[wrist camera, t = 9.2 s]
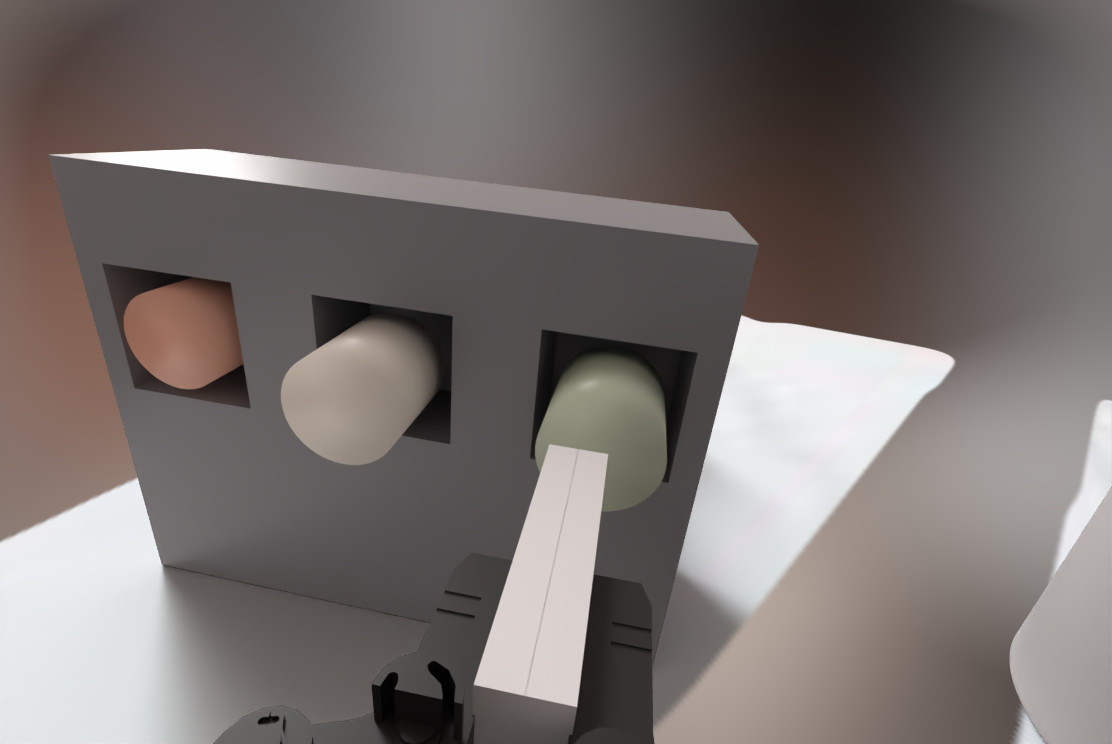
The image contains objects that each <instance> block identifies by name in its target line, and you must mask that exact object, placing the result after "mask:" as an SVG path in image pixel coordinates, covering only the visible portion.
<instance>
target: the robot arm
mask: <svg viewBox="0 0 1112 744" xmlns="http://www.w3.org/2000/svg"><path fill="white" fill-rule="evenodd" d="M607 460H608V454H605V453H599V452H593V451H587V450H581V449H575V448H569V447H563V446H557V445H551V444H549V447H548V450H547V453H546V457H545V460H544V463H543V466H542V469H541V472H540V476H539V479H538V482H537V485H536V488H535V491H534V495H533V498H532V501H531V504H530V507H529V510H528V514H527V517H526V520H525V523H524V526H523V529H522V533H521V536H520V539H519V542H518V545H517V549H516V552H515V555H514V558H513V560H507V559H502V558H497V557H492V556H486V555H481V554H476V553H471V554H470V555H469V556H468V557H467V558H466V559H464V560H463V561H462V562H461V563H460V564H459V565H458V566H457V567H456V568H455V569H454V570H453V573H452V575H451V577H450V579H449V582H448V584H447V586H446V589H445V592H444V595H442V598H441V600H440V602H439V604H438V607H437V610H436V613H434V616H433V618H432V620H431V622H430V625H429V627H428V629H427V631H426V634H425V636H424V638H423V640H422V643H421V645H420V647H419V649H418V652H415V653H412V654H409V655H405V656H402V657H399V658H397V659H396V660H395V661H393V662H392V663H390V664H389V665H388V666H386V667H385V668H383V670H382V671H381V672H380V674H379V675H378V676H377V678H376V679H375V680H374V682H373V683H372V694H373V708H374V712H372V713H370V714H368V715H366V716H363V717H360V718H356V719H351V720H346V721H338V722H331V723H323V724H315V725H310V723H309V720H308V719H307V718H306V717H305V716H304V715H303V714H302V713H301V712H300V711H299V710H296V709H292V708H289V707H285V706H276V707H267V708H262V709H260V710H258V711H255V712H253V713H251V714H249V715H246V716H244V717H243V718H241V719H240V720H239V721H238V722H236V723H235V724H234V725H233V726H231V727H230V728H229V729H228V730H226V731H225V732H224V733H223V734H222V735H221V736H220V737H219V738H218V739H217V740H216V741H215V742H214V743H213V744H654V737H653V700H652V605H651V603H650V601H649V599H648V597H647V595H646V592H645V590H644V588H643V586H642V584H641V583H637V582H632V581H626V580H621V579H616V578H610V577H605V576H600V575H595V574H594V566H595V557H596V549H597V541H598V533H599V525H600V517H601V509H602V501H603V492H604V484H605V476H606V468H607Z"/></svg>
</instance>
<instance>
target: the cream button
mask: <svg viewBox="0 0 1112 744" xmlns="http://www.w3.org/2000/svg"><path fill="white" fill-rule="evenodd" d="M444 376H445V363H444V358H443V354H442V351H441V349H440V347H439V345H438V343H437V342H436V340H435V338H434V337H433V336H432V335H431V333H430V332H429V331H428V330H427V329H426V328H425V327H423V326H422V325H421V324H420V323H418V322H416V321H415V320H413V319H411V318H409V317H407V316H404V315H401V314H396V313H378V314H374V315H371V316H369V317H367V318H365V319H363V320H362V321H360V322H359V323H357V324H356V325H354V326H352V327H351V328H349V329H348V330H346V331H345V332H343V333H341V334H340V335H338V336H337V337H335V338H334V339H332V340H331V341H329V342H327V343H326V344H324V345H323V346H321V347H320V348H318V349H317V350H315V351H313V352H312V353H310V354H309V355H307V356H306V357H304V358H303V359H301V360H299V361H298V362H297V363H295V364H294V365H293V366H292V367H291V368H290V369H289V370H288V372H287V374H286V375H285V377H284V380H283V383H282V387H281V404H282V409H283V412H284V415H285V418H286V420H287V422H288V424H289V425H290V427H291V429H292V430H293V432H294V433H295V434H296V436H297V437H298V438H299V439H300V440H301V441H302V442H303V443H304V444H305V445H306V446H307V447H308V448H310V449H311V450H312V451H314V452H315V453H317V454H318V455H320V456H322V457H324V458H326V459H328V460H331V461H334V462H337V463H341V464H346V465H363V464H368V463H371V462H374V461H376V460H378V459H380V458H381V457H383V456H384V455H385V454H386V453H387V452H388V451H389V450H390V449H391V448H392V446H393V445H394V444H395V443H396V442H397V440H398V439H399V438H400V437H401V436H402V434H403V433H404V432H405V431H406V430H407V428H408V427H409V426H410V425H411V424H412V422H413V421H414V420H415V419H416V418H417V416H418V415H419V414H420V413H421V412H422V410H423V409H424V408H425V407H426V406H427V404H428V403H429V402H430V401H431V400H432V398H433V397H434V396H435V395H436V394H437V392H438V391H439V389H440V388H441V386H442V383H443V380H444Z"/></svg>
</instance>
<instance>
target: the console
mask: <svg viewBox="0 0 1112 744" xmlns="http://www.w3.org/2000/svg"><path fill="white" fill-rule="evenodd" d="M48 156H49V160H50V162H51V167H52V170H53V174H54V178H55V181H56V185H57V188H58V192H59V195H60V199H61V203H62V206H63V210H64V213H65V217H66V221H67V225H68V228H69V232H70V235H71V239H72V242H73V245H74V249H75V253H76V257H77V261H78V264H79V267H80V271H81V275H82V279H83V282H84V286H85V289H86V293H87V296H88V300H89V304H90V307H91V311H92V315H93V318H94V322H95V325H96V329H97V333H98V336H99V340H100V343H101V347H102V351H103V354H104V358H105V361H106V365H107V369H108V372H109V375H110V379H111V383H112V386H113V390H114V394H115V397H116V401H117V405H118V408H119V412H120V415H121V418H122V422H123V426H124V430H125V433H126V437H127V440H128V444H129V448H130V451H131V455H132V459H133V462H134V466H135V469H136V473H137V477H138V480H139V484H140V487H141V491H142V495H143V498H144V502H145V505H146V509H147V513H148V516H149V520H150V523H151V527H152V531H153V534H154V538H155V541H156V545H157V549H158V552H159V556H160V559H161V563H162V565H166V566H171V567H175V568H180V569H184V570H189V571H194V572H198V573H203V574H208V575H212V576H217V577H221V578H226V579H231V580H235V581H240V582H245V583H249V584H254V585H258V586H263V587H268V588H272V589H277V590H281V591H286V592H291V593H295V594H300V595H305V596H309V597H314V598H318V599H323V600H328V601H332V602H337V603H342V604H346V605H351V606H355V607H360V608H365V609H369V610H374V611H378V612H383V613H388V614H392V615H397V616H402V617H406V618H411V619H415V620H420V621H425V622H429V623H430V622H431V620H432V618H433V616H434V613H436V610H437V607H438V604H439V602H440V600H441V598H442V595H444V592H445V589H446V586H447V584H448V582H449V579H450V577H451V575H452V573H453V570H454V569H455V568H456V567H457V566H458V565H459V564H460V563H461V562H462V561H463V560H464V559H466V558H467V557H468V556H469V555H470V554H471V553H476V554H481V555H486V556H492V557H497V558H502V559H507V560H513V558H514V555H515V552H516V549H517V545H518V542H519V539H520V536H521V533H522V529H523V526H524V523H525V520H526V517H527V514H528V510H529V507H530V504H531V501H532V498H533V495H534V491H535V488H536V485H537V482H538V479H539V476H540V472H539V469H538V467H537V463H536V458H535V444H536V439H537V436H538V433H539V430H540V428H541V425H542V422H543V420H544V417H545V415H546V412H547V410H548V407H549V404H550V402H551V399H552V397H553V394H554V391H555V389H556V386H557V384H558V381H559V379H560V376H561V374H562V372H563V370H564V369H565V367H566V366H567V365H568V363H569V362H570V361H571V360H572V359H574V358H575V357H576V356H578V355H579V354H581V353H583V352H585V351H587V350H590V349H593V348H597V347H604V346H613V347H620V348H625V349H628V350H631V351H633V352H635V353H637V354H639V355H641V356H642V357H644V358H645V359H646V360H647V361H648V362H650V363H651V365H652V366H653V367H654V368H655V369H656V371H657V372H658V374H659V376H660V378H661V380H662V383H663V386H664V392H665V418H666V445H667V466H666V471H665V474H664V477H663V479H662V481H661V483H660V485H659V486H658V488H657V489H656V490H655V491H654V492H653V493H652V495H650V496H649V497H648V498H647V499H646V500H644V501H642V502H641V503H639V504H637V505H635V506H633V507H630V508H627V509H623V510H618V511H609V512H604V511H601V517H600V525H599V533H598V541H597V549H596V557H595V566H594V574H595V575H600V576H605V577H610V578H616V579H621V580H626V581H632V582H637V583H641V584H642V586H643V588H644V590H645V592H646V595H647V597H648V599H649V601H650V603H651V605H652V665H653V661H654V657H655V653H656V649H657V645H658V642H659V638H660V634H661V630H662V626H663V622H664V618H665V614H666V610H667V606H668V602H669V598H670V594H671V590H672V586H673V582H674V578H675V574H676V570H677V566H678V563H679V559H680V555H681V551H682V547H683V543H684V539H685V535H686V531H687V527H688V523H689V519H690V515H691V511H692V507H693V503H694V499H695V495H696V491H697V487H698V484H699V480H700V476H701V472H702V468H703V464H704V460H705V456H706V452H707V448H708V444H709V440H710V436H711V432H712V428H713V424H714V420H715V416H716V412H717V408H718V405H719V401H720V397H721V393H722V389H723V385H724V381H725V377H726V373H727V369H728V365H729V361H730V357H731V353H732V349H733V345H734V341H735V337H736V333H737V329H738V326H739V322H740V318H741V314H742V310H743V305H744V302H745V298H746V294H747V290H748V286H749V282H750V278H751V274H752V270H753V266H754V262H755V258H756V254H757V251H758V247H759V245H758V244H757V242H756V241H755V240H754V239H753V238H752V237H751V236H750V235H749V234H748V233H747V232H746V231H745V229H744V228H743V227H742V226H741V225H740V224H739V223H738V222H737V221H736V220H735V219H734V218H733V216H731V214H730V213H729V212H723V211H715V210H706V209H698V208H690V207H681V206H673V205H665V204H656V203H649V202H640V201H632V200H624V199H616V198H606V197H599V196H591V195H582V194H574V193H565V192H558V191H549V190H541V189H533V188H524V187H516V186H508V185H500V184H492V183H483V182H474V181H467V180H457V179H449V178H441V177H434V176H425V175H416V174H409V173H400V172H392V171H384V170H375V169H367V168H359V167H351V166H342V165H334V164H326V163H318V162H310V161H301V160H293V159H285V158H277V157H268V156H260V155H252V154H244V153H235V152H227V151H219V150H210V149H194V150H166V151H140V152H114V153H113V152H112V153H85V154H58V155H48ZM192 277H197V278H204V279H210V280H217V281H223V282H230V283H231V289H232V295H233V301H234V307H235V314H236V320H237V326H238V332H239V339H240V345H241V351H242V357H243V365H241V366H239V367H237V368H236V369H234V370H232V371H230V372H228V373H227V374H225V375H223V376H221V377H220V378H218V379H216V380H214V381H212V382H211V383H209V384H207V385H205V386H204V387H201V388H197V389H182V388H177V387H174V386H171V385H169V384H167V383H165V382H163V381H161V380H159V379H158V378H156V377H155V376H154V375H152V374H151V373H150V372H149V371H148V370H146V368H145V367H144V366H143V365H142V364H141V363H140V362H139V361H138V359H137V358H136V356H135V355H134V354H133V352H132V350H131V348H130V346H129V344H128V342H127V339H126V336H125V331H124V314H125V310H126V308H127V306H128V304H129V303H130V301H131V300H132V299H133V298H135V297H136V296H138V295H139V294H142V293H145V292H148V291H151V290H154V289H157V288H161V287H164V286H167V285H170V284H173V283H176V282H180V281H183V280H186V279H189V278H192ZM378 313H396V314H401V315H404V316H407V317H409V318H411V319H413V320H415V321H416V322H418V323H420V324H421V325H422V326H423V327H425V328H426V329H427V330H428V331H429V332H430V333H431V335H432V336H433V337H434V338H435V340H436V342H437V343H438V345H439V347H440V349H441V351H442V354H443V358H444V363H445V376H444V380H443V383H442V386H441V388H440V389H439V391H438V392H437V394H436V395H435V396H434V397H433V398H432V400H431V401H430V402H429V403H428V404H427V406H426V407H425V408H424V409H423V410H422V412H421V413H420V414H419V415H418V416H417V418H416V419H415V420H414V421H413V422H412V424H411V425H410V426H409V427H408V428H407V430H406V431H405V432H404V433H403V434H402V436H401V437H400V438H399V439H398V440H397V442H396V443H395V444H394V445H393V446H392V448H391V449H390V450H389V451H388V452H387V453H386V454H385V455H384V456H383V457H381V458H380V459H378V460H376V461H374V462H371V463H368V464H363V465H346V464H341V463H337V462H334V461H331V460H328V459H326V458H324V457H322V456H320V455H318V454H317V453H315V452H314V451H312V450H311V449H310V448H308V447H307V446H306V445H305V444H304V443H303V442H302V441H301V440H300V439H299V438H298V437H297V436H296V434H295V433H294V432H293V430H292V429H291V427H290V425H289V424H288V422H287V420H286V418H285V415H284V412H283V409H282V404H281V387H282V383H283V380H284V377H285V375H286V374H287V372H288V370H289V369H290V368H291V367H292V366H293V365H294V364H295V363H297V362H298V361H299V360H301V359H303V358H304V357H306V356H307V355H309V354H310V353H312V352H313V351H315V350H317V349H318V348H320V347H321V346H323V345H324V344H326V343H327V342H329V341H331V340H332V339H334V338H335V337H337V336H338V335H340V334H341V333H343V332H345V331H346V330H348V329H349V328H351V327H352V326H354V325H356V324H357V323H359V322H360V321H362V320H363V319H365V318H367V317H369V316H371V315H374V314H378Z"/></svg>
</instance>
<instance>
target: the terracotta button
mask: <svg viewBox="0 0 1112 744" xmlns="http://www.w3.org/2000/svg"><path fill="white" fill-rule="evenodd" d="M124 331H125V336H126V339H127V342H128V344H129V346H130V348H131V350H132V352H133V354H134V355H135V356H136V358H137V359H138V361H139V362H140V363H141V364H142V365H143V366H144V367H145V368H146V370H148V371H149V372H150V373H151V374H152V375H154V376H155V377H156V378H158V379H159V380H161V381H163V382H165V383H167V384H169V385H171V386H174V387H177V388H182V389H197V388H201V387H204V386H205V385H207V384H209V383H211V382H212V381H214V380H216V379H218V378H220V377H221V376H223V375H225V374H227V373H228V372H230V371H232V370H234V369H236V368H237V367H239V366H241V365H243V357H242V351H241V345H240V339H239V332H238V326H237V320H236V314H235V307H234V301H233V295H232V289H231V283H230V282H223V281H217V280H210V279H204V278H197V277H192V278H189V279H186V280H183V281H180V282H176V283H173V284H170V285H167V286H164V287H161V288H157V289H154V290H151V291H148V292H145V293H142V294H139V295H138V296H136V297H135V298H133V299H132V300H131V301H130V303H129V304H128V306H127V308H126V310H125V314H124Z"/></svg>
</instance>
